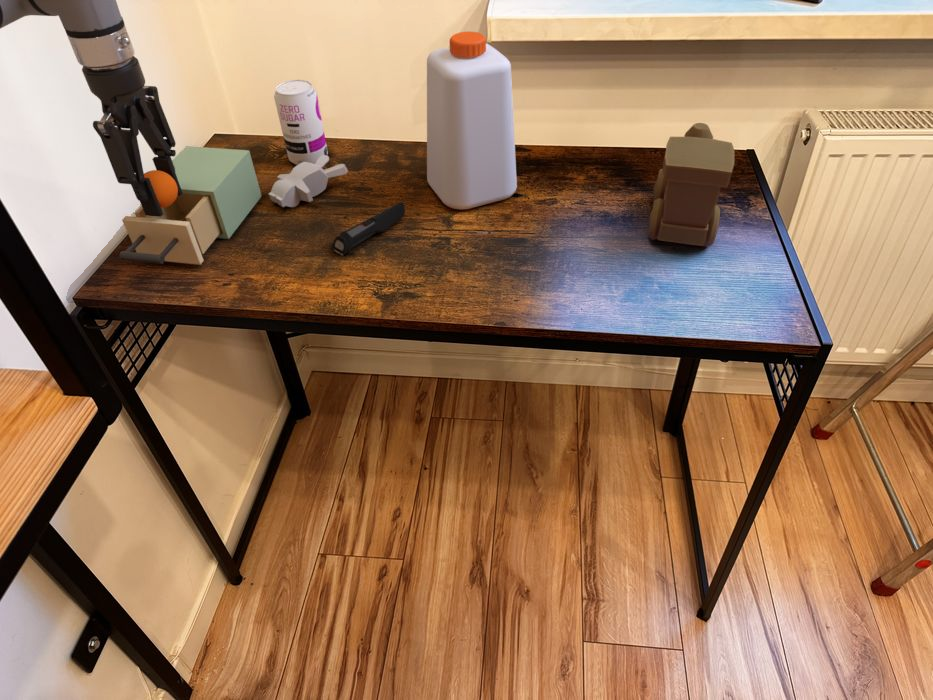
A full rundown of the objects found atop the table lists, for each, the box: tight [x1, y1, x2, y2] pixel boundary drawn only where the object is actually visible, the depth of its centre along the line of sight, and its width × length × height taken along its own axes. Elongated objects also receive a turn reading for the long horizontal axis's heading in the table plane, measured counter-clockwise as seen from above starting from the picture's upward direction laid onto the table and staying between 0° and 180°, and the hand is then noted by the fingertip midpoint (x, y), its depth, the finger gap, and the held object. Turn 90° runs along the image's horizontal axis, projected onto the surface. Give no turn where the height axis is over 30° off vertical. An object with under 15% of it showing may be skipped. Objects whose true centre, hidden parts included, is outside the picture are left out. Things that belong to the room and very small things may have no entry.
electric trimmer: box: [332, 201, 406, 256], centre depth 118 cm, size 4×16×3 cm, turn 137°
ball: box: [144, 169, 178, 208], centre depth 108 cm, size 6×6×6 cm
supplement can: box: [273, 79, 329, 166], centre depth 135 cm, size 8×8×15 cm
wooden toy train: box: [647, 122, 735, 248], centre depth 113 cm, size 20×11×17 cm, turn 164°
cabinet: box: [172, 145, 263, 240], centre depth 122 cm, size 15×13×10 cm
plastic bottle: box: [426, 31, 518, 211], centre depth 120 cm, size 15×15×28 cm
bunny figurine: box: [268, 154, 349, 208], centre depth 128 cm, size 10×5×15 cm
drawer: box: [118, 193, 222, 266], centre depth 113 cm, size 20×11×8 cm, turn 169°
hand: (164, 203), depth 110 cm, fingers closed on ball, 6 cm apart
